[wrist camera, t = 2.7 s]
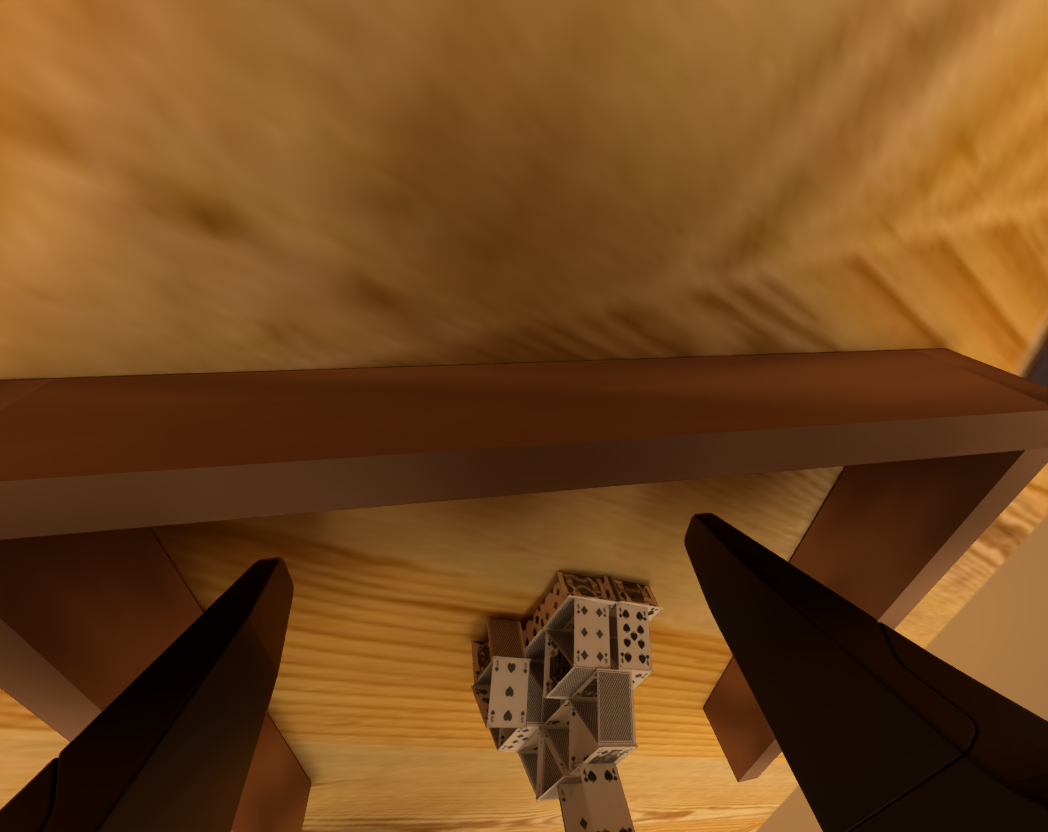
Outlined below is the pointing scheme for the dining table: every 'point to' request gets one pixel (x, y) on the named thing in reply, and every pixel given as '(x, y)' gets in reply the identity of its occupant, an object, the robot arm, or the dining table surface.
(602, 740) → the house of cards
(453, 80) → the dining table surface
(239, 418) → the wooden arch
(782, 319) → the dining table surface
